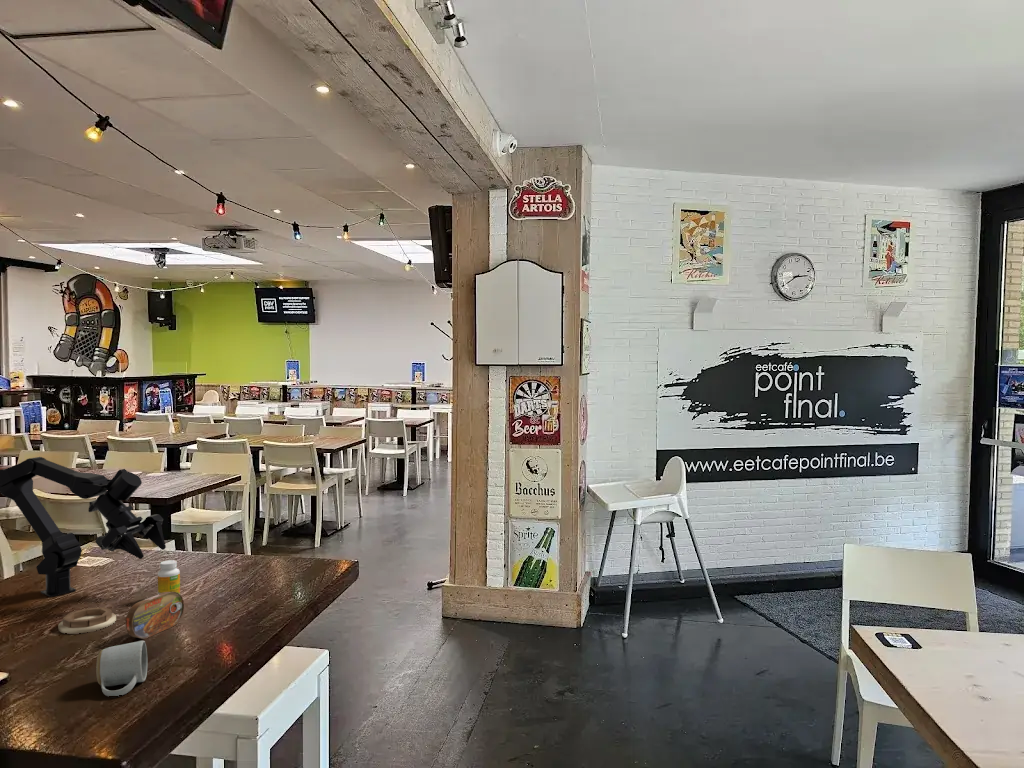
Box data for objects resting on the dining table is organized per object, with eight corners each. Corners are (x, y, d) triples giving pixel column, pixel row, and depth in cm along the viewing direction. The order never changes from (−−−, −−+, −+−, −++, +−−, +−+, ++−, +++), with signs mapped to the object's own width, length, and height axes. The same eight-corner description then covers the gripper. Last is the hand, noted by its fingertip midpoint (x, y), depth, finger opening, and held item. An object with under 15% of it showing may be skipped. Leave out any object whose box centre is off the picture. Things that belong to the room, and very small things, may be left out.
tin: (133, 644, 160) (132, 607, 160) (123, 642, 161) (122, 605, 161) (185, 621, 174) (184, 587, 174) (175, 620, 175) (174, 586, 175)
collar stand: (49, 626, 171) (49, 616, 171) (101, 612, 180) (101, 602, 180) (72, 637, 164) (72, 627, 164) (125, 622, 173) (125, 612, 173)
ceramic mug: (102, 678, 142) (101, 640, 142) (148, 671, 145) (147, 634, 145) (92, 702, 133) (90, 662, 132) (141, 694, 135) (140, 655, 135)
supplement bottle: (171, 601, 189) (170, 565, 188) (153, 600, 190) (152, 564, 189) (184, 595, 194) (183, 559, 194) (167, 594, 195) (166, 558, 195)
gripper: (121, 524, 204) (157, 563, 202) (71, 540, 185) (110, 583, 184) (145, 497, 202) (181, 537, 201) (97, 511, 184) (137, 554, 182)
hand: (153, 553), depth 192 cm, fingers open, 9 cm apart
